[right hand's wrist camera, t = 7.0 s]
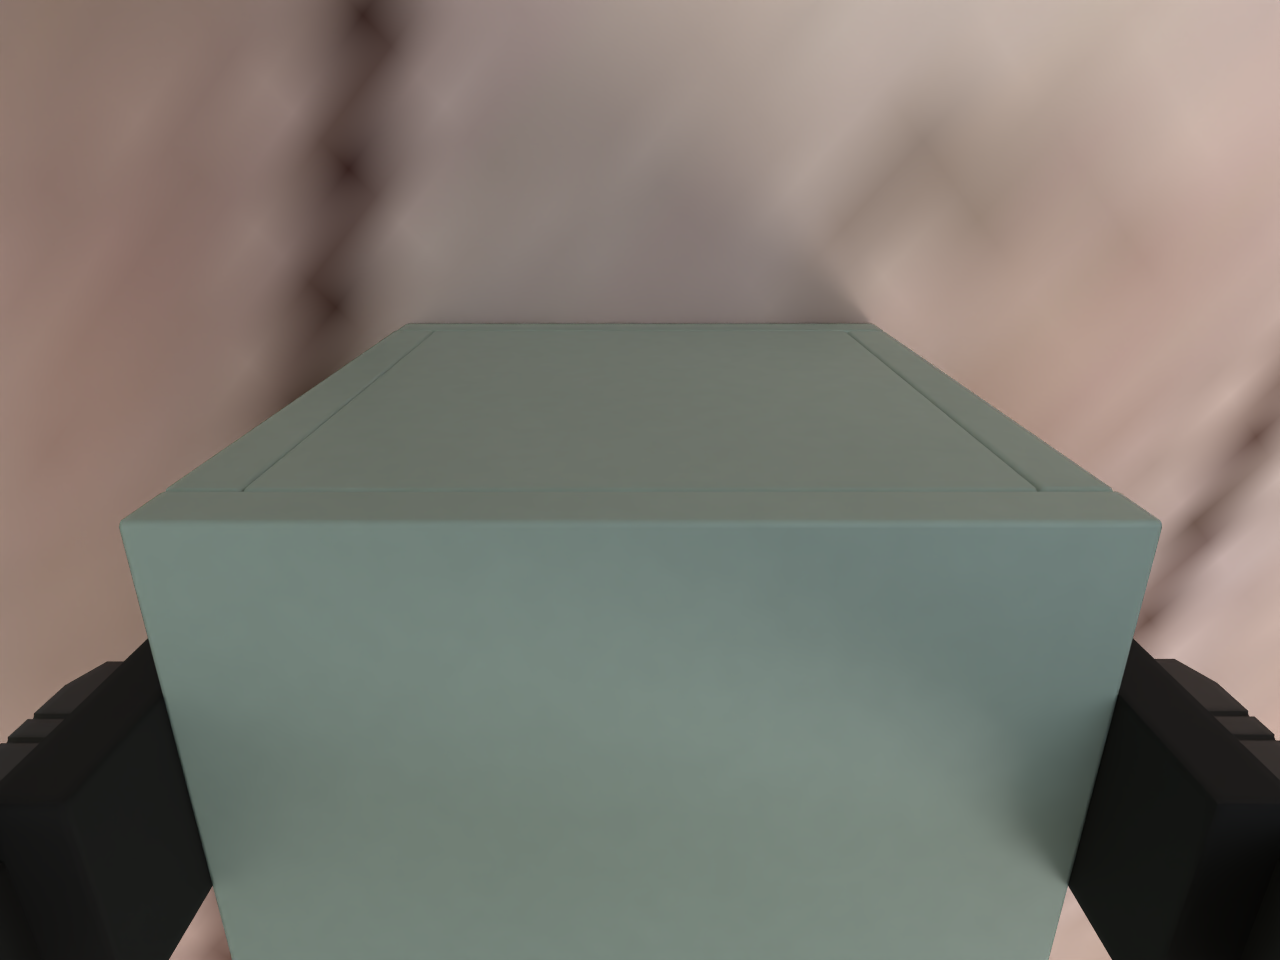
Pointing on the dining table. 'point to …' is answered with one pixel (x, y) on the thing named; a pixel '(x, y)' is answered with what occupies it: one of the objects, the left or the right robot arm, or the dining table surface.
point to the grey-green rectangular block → (640, 652)
